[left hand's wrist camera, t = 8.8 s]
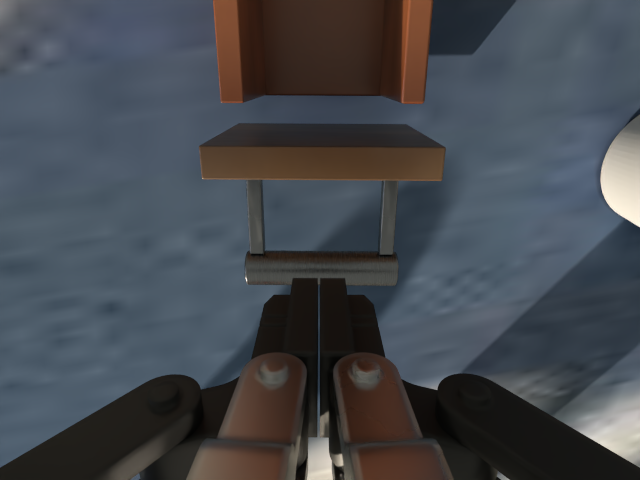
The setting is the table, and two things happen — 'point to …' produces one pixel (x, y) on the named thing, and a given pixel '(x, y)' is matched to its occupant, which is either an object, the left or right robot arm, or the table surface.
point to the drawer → (322, 139)
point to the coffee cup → (623, 173)
